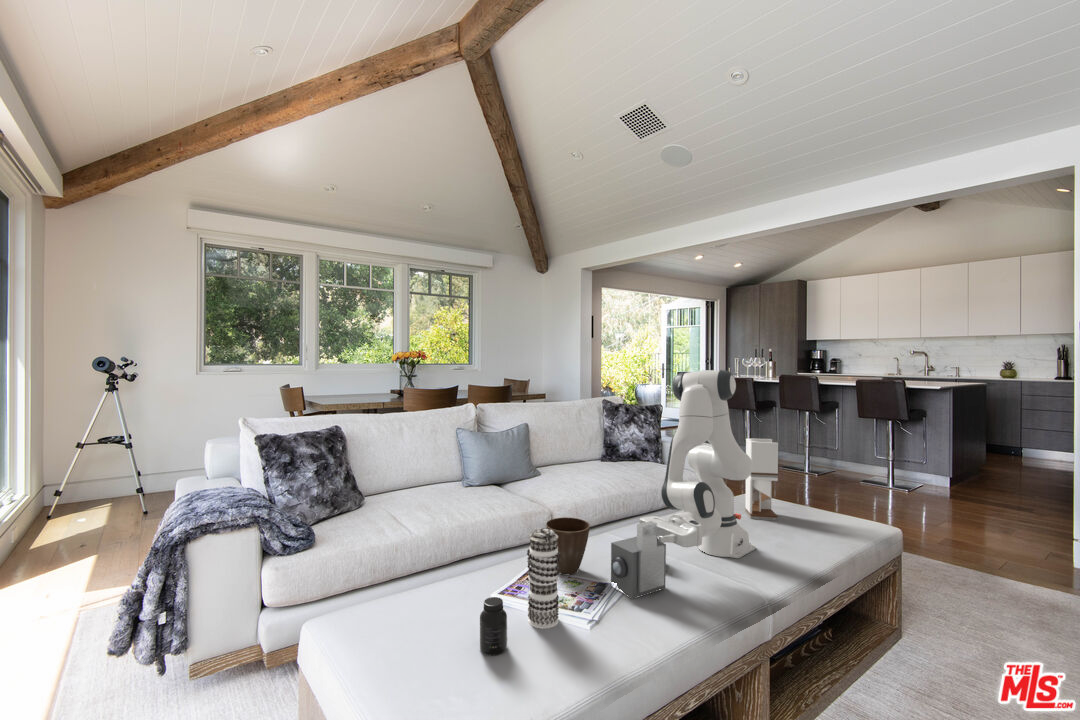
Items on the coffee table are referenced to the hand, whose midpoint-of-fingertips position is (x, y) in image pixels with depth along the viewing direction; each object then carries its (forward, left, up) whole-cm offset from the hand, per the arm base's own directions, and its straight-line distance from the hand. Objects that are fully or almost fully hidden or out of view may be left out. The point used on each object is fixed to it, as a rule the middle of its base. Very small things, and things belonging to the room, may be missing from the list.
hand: (649, 534), depth 159 cm
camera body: (-1, -6, -19) cm, 20 cm away
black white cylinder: (+36, -4, -19) cm, 41 cm away
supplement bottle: (+54, +1, -19) cm, 57 cm away
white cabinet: (-101, -32, -19) cm, 108 cm away
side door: (-1, 0, -17) cm, 17 cm away
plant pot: (+11, -28, -19) cm, 35 cm away
